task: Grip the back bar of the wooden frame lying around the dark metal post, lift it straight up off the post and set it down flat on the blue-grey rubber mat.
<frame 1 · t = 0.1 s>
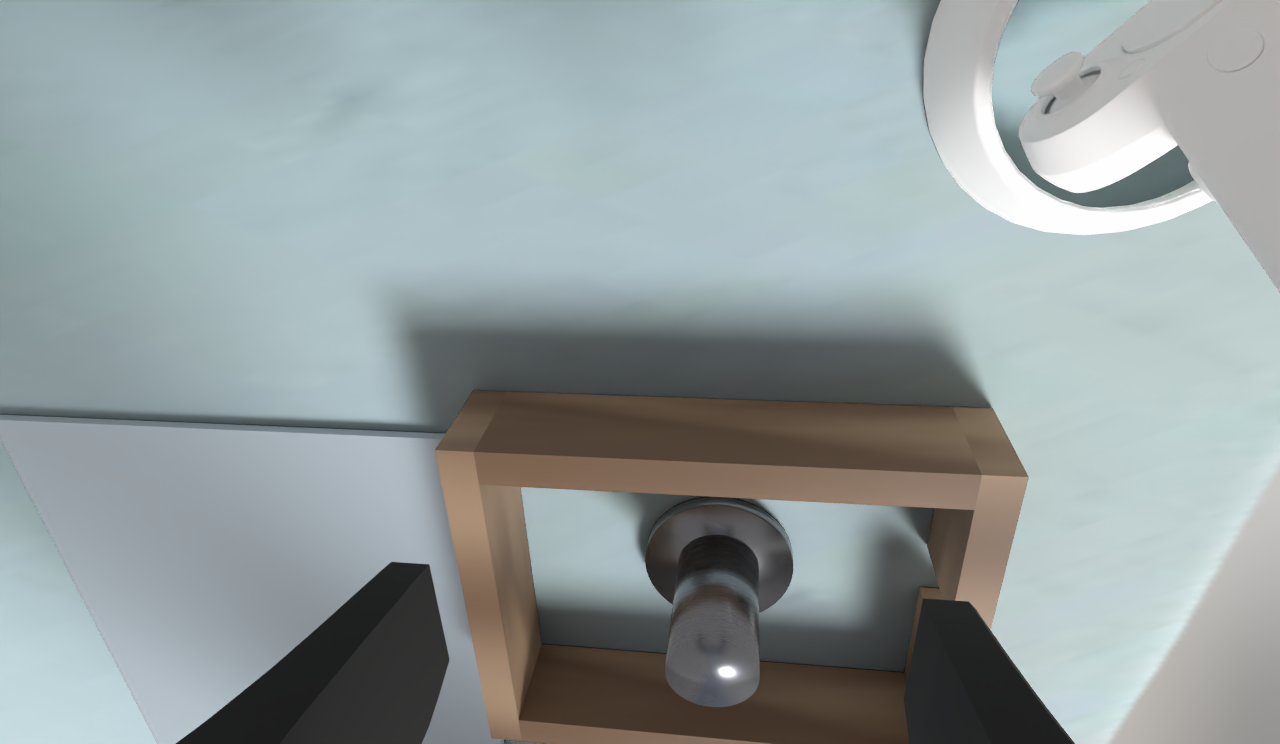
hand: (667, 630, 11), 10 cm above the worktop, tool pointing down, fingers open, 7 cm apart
wooden frame: (718, 554, 23), on the worktop
post: (718, 554, 23), on the worktop
mat: (287, 634, 28), on the worktop
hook: (1113, 53, 16), on the worktop
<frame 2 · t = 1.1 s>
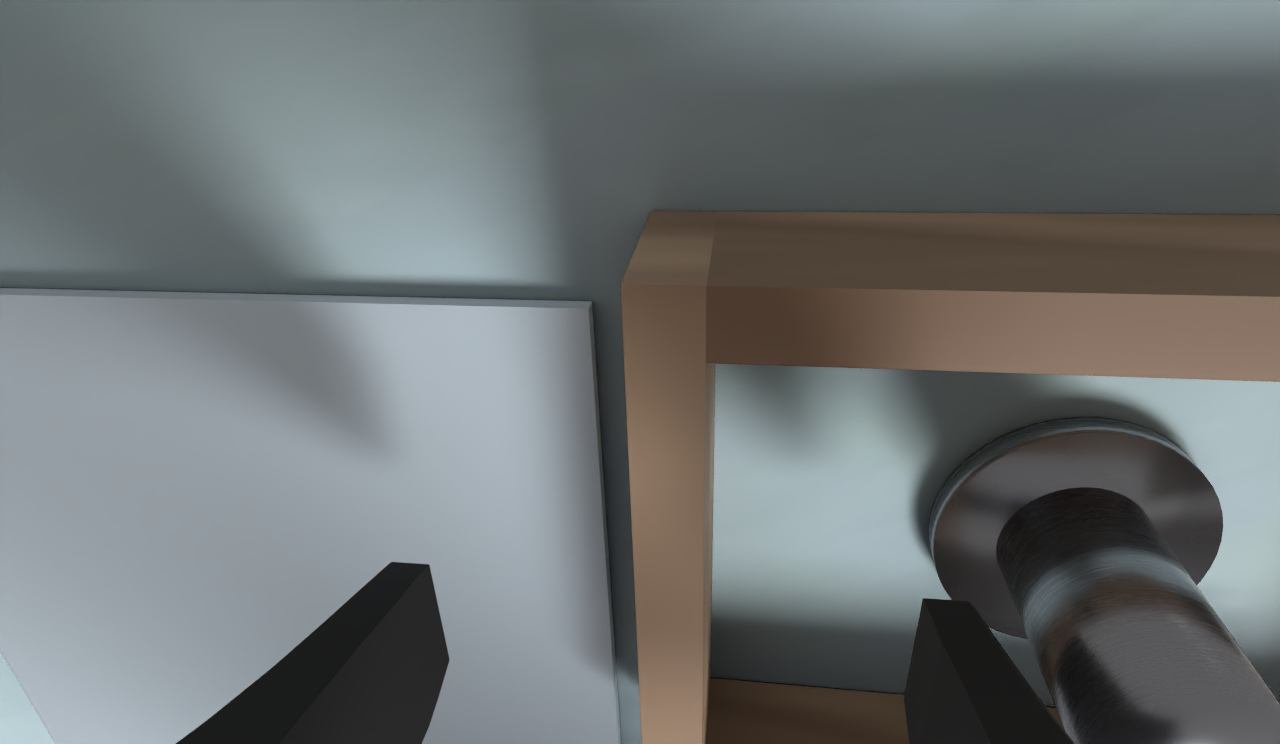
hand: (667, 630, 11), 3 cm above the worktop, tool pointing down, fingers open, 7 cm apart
wooden frame: (1062, 526, 13), on the worktop
post: (1062, 526, 13), on the worktop
mat: (294, 657, 18), on the worktop
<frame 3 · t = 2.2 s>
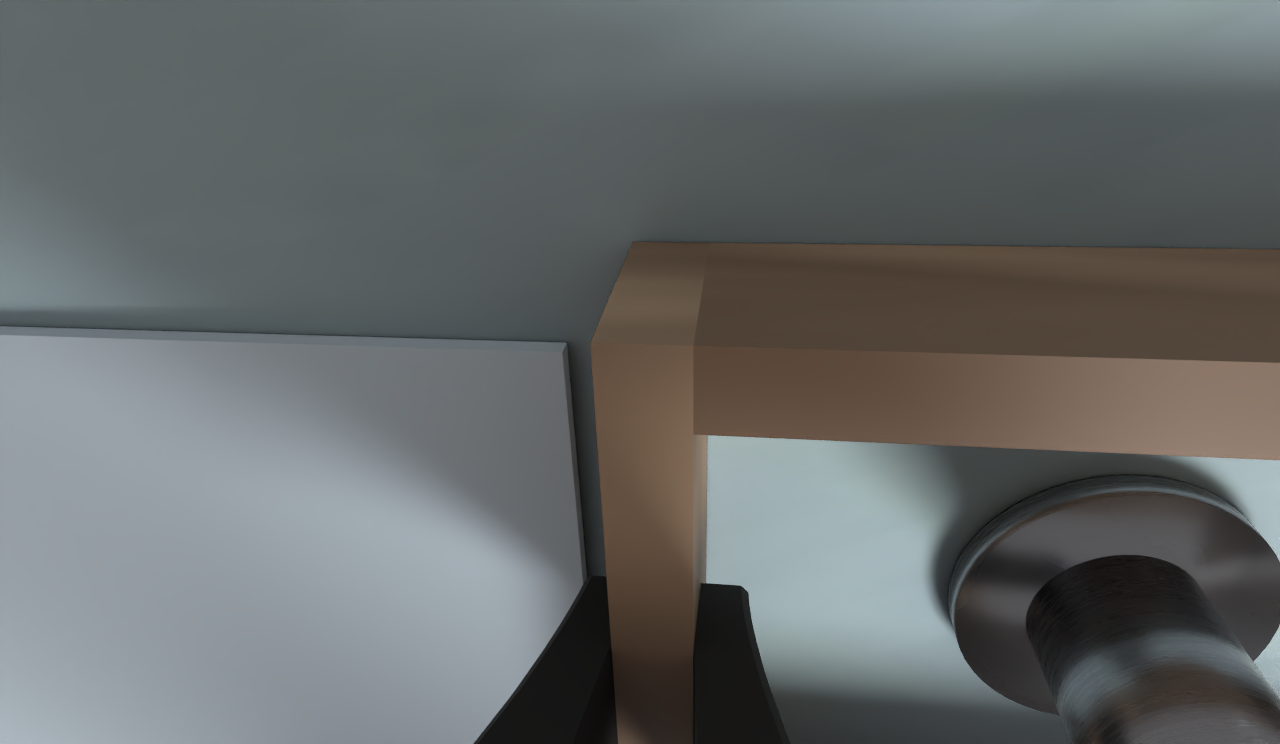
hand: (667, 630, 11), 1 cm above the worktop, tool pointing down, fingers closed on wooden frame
wooden frame: (1099, 592, 12), on the worktop, touching gripper
post: (1099, 592, 12), on the worktop
mat: (249, 718, 16), on the worktop
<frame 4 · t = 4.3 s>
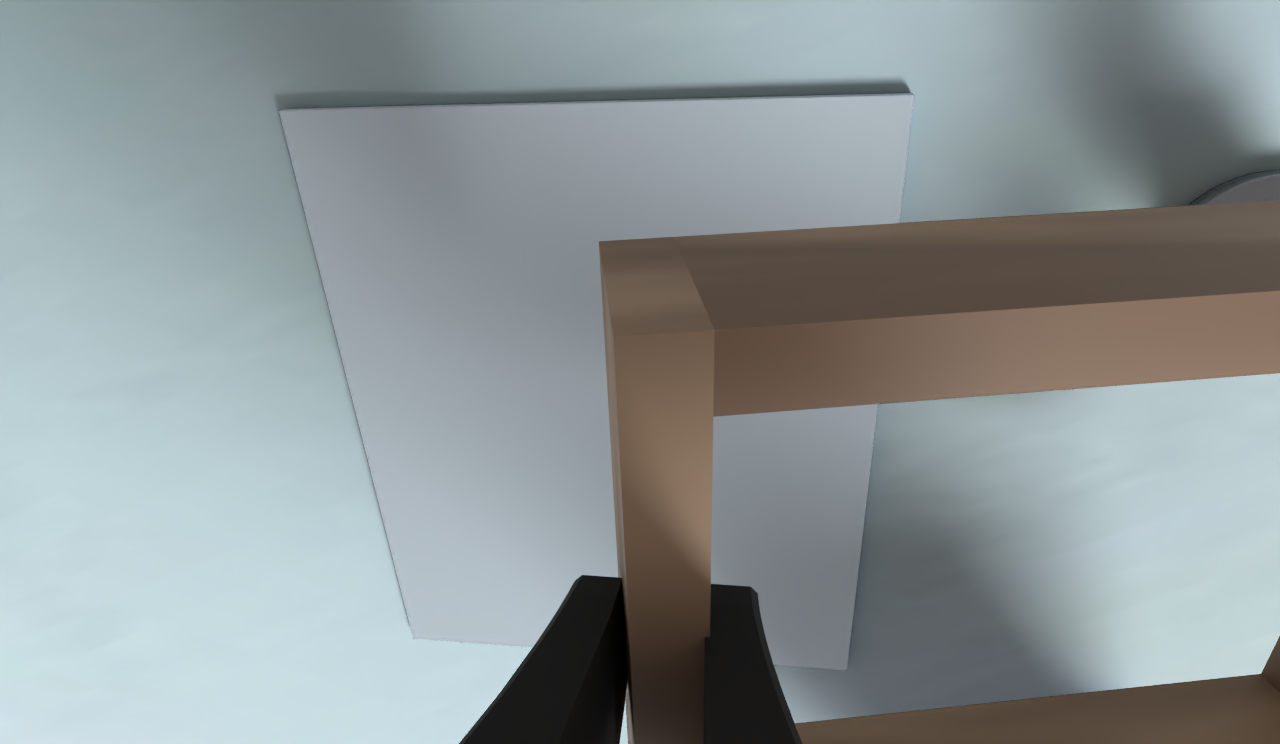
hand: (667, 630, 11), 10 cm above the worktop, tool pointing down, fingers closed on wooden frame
wooden frame: (1023, 525, 13), point 7 cm above the worktop, tilted 13°, touching gripper
post: (1248, 265, 18), on the worktop
mat: (605, 425, 22), on the worktop
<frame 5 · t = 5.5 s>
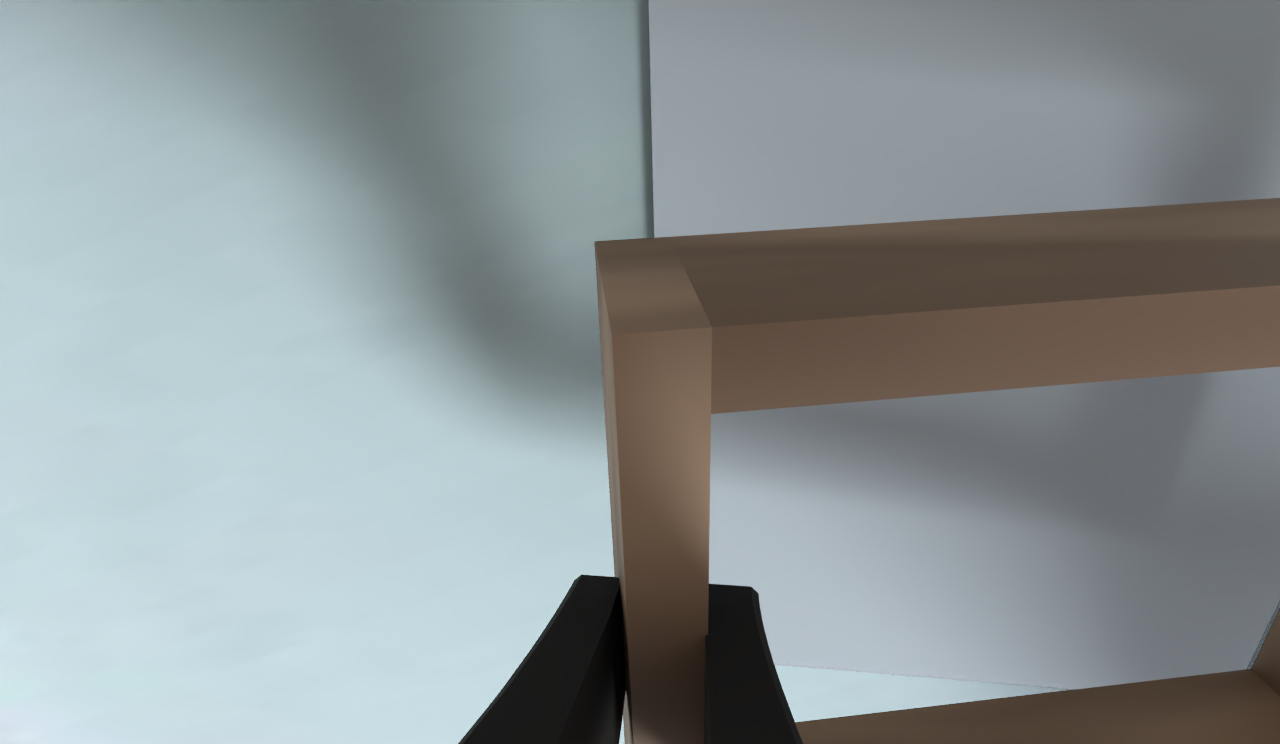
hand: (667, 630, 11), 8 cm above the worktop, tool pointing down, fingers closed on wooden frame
wooden frame: (1016, 522, 13), point 5 cm above the worktop, tilted 14°, touching gripper
mat: (991, 389, 17), on the worktop
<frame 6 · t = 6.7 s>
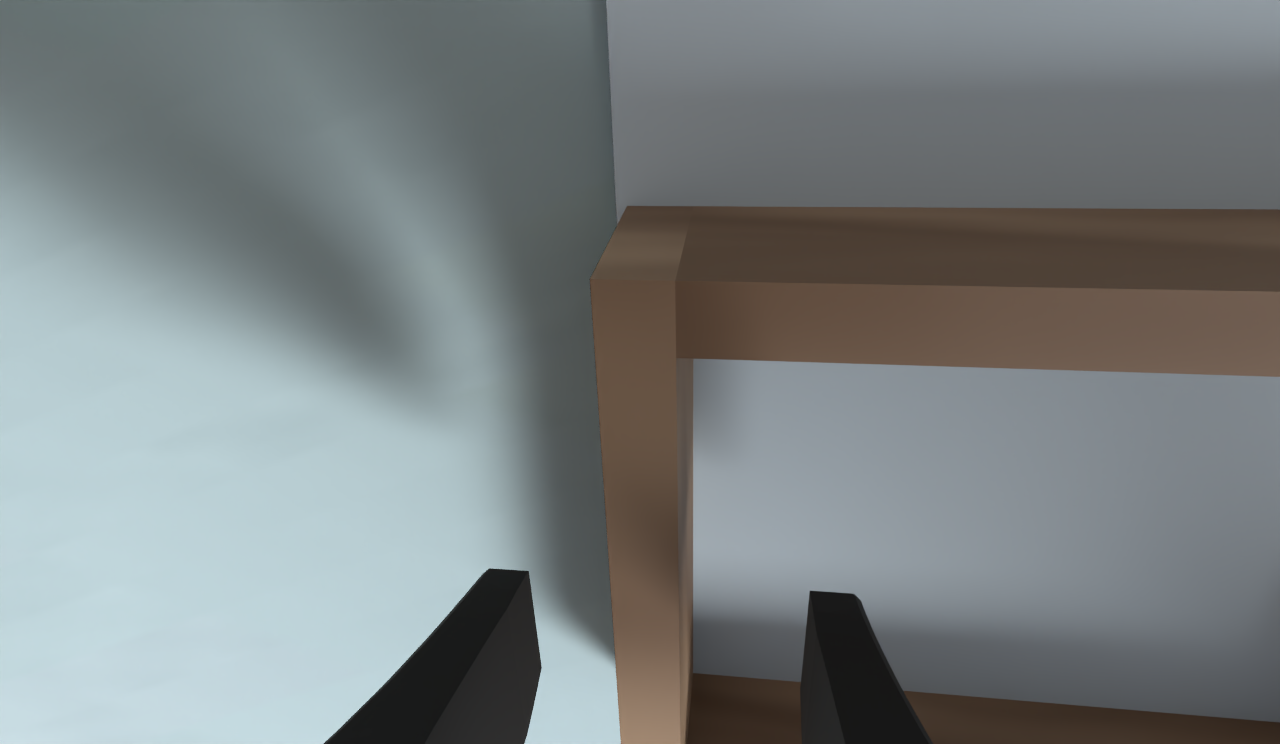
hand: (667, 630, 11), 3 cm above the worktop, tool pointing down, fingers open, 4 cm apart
wooden frame: (1040, 521, 13), resting on mat
mat: (1055, 510, 13), on the worktop
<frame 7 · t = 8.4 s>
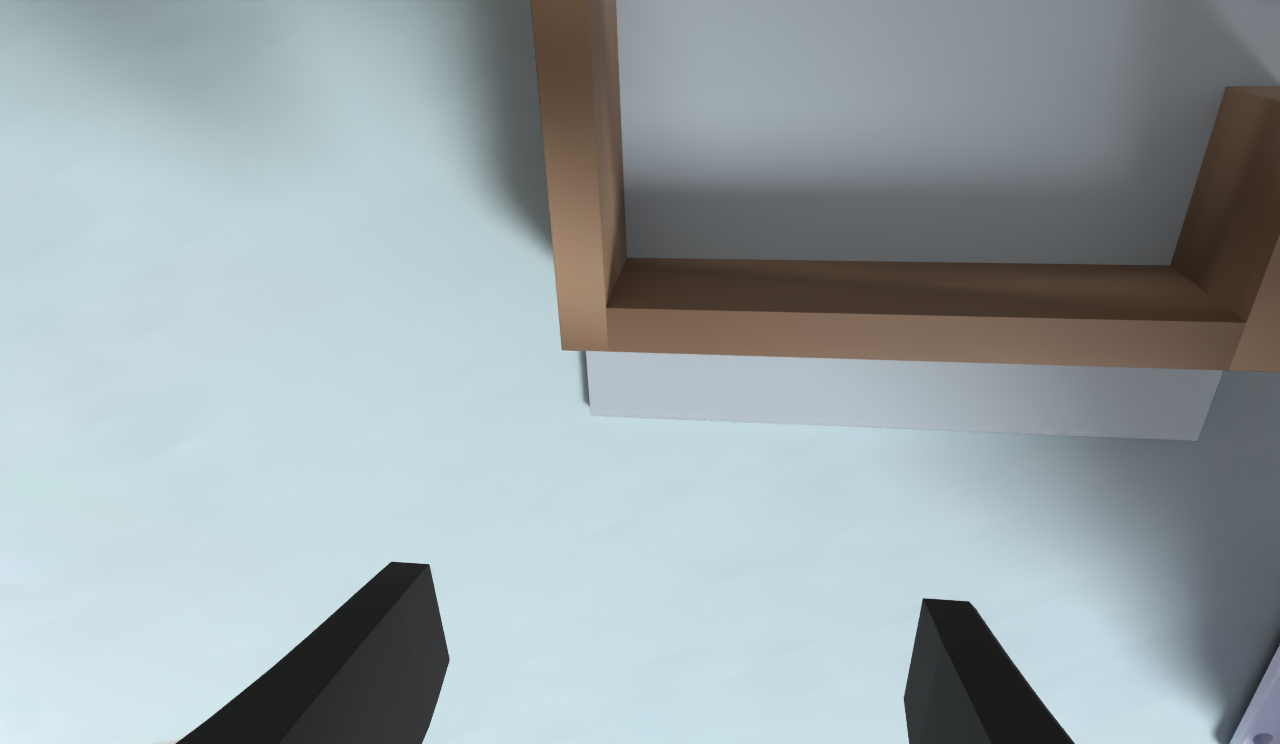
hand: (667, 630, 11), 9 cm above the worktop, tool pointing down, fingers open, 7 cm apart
wooden frame: (913, 48, 15), resting on mat
mat: (927, 46, 16), on the worktop
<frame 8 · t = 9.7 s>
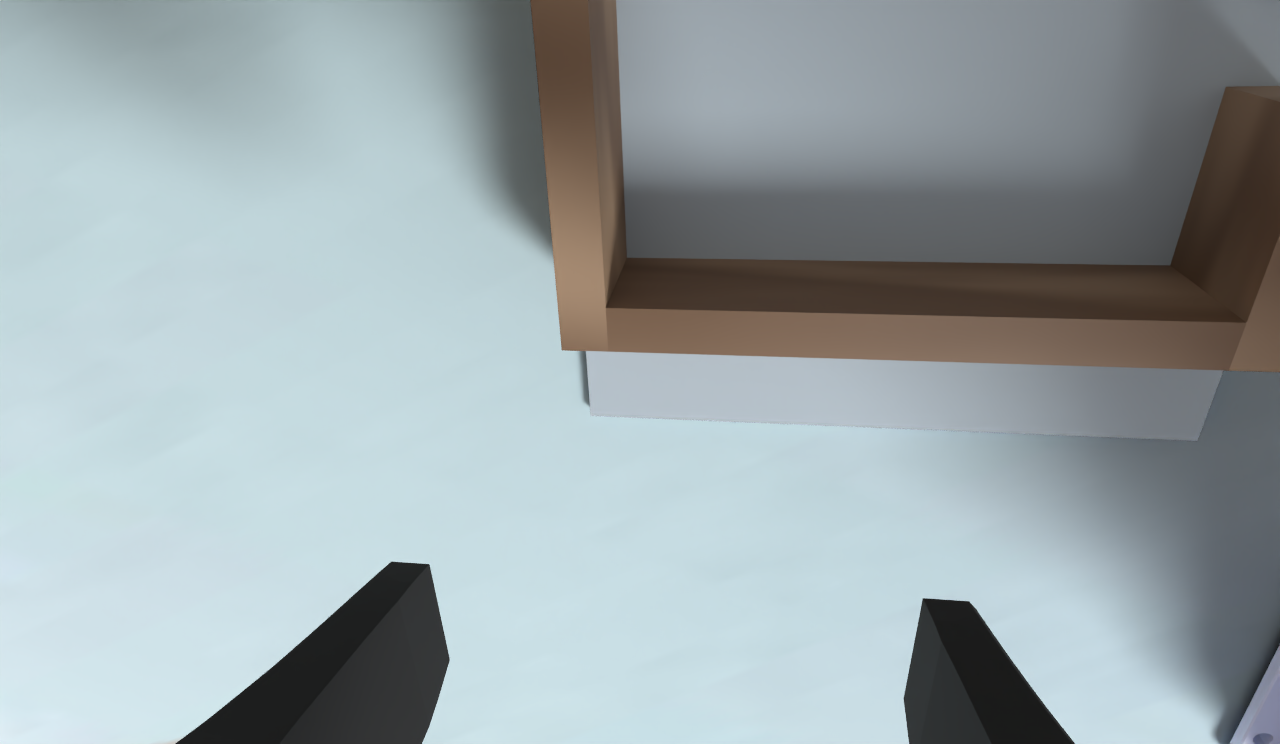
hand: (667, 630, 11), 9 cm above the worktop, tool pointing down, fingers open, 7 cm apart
wooden frame: (913, 48, 15), resting on mat
mat: (927, 46, 16), on the worktop
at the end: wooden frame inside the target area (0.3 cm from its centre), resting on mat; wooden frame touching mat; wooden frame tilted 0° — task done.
